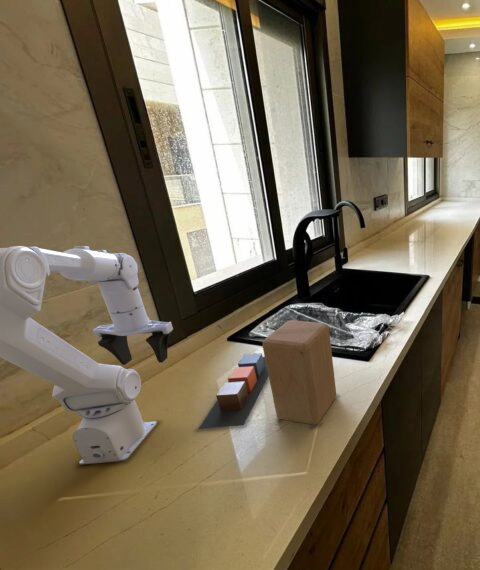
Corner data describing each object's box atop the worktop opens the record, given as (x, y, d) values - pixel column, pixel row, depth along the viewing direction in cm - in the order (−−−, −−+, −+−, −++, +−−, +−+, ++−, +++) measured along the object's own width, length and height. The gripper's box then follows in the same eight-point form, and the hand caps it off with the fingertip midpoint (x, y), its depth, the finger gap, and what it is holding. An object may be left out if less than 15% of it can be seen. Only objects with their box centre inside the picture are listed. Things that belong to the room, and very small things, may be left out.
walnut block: (241, 409, 73) (237, 393, 72) (220, 411, 73) (215, 395, 71) (248, 396, 78) (244, 381, 76) (228, 397, 77) (224, 382, 75)
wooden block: (317, 427, 69) (305, 346, 62) (275, 420, 71) (259, 340, 64) (338, 396, 78) (330, 322, 71) (300, 390, 80) (288, 317, 73)
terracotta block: (250, 392, 79) (247, 377, 77) (231, 393, 78) (227, 378, 77) (257, 380, 83) (253, 366, 81) (238, 381, 83) (235, 367, 81)
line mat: (243, 425, 69) (243, 424, 69) (198, 429, 68) (198, 428, 68) (279, 357, 93) (278, 356, 93) (245, 359, 92) (245, 358, 92)
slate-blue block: (259, 377, 84) (256, 362, 83) (241, 378, 84) (237, 363, 82) (264, 367, 88) (261, 353, 87) (247, 368, 88) (244, 354, 86)
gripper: (173, 298, 75) (188, 349, 80) (103, 301, 73) (123, 353, 78) (153, 312, 68) (171, 366, 73) (76, 315, 66) (99, 371, 71)
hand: (145, 361), depth 75 cm, fingers open, 7 cm apart
